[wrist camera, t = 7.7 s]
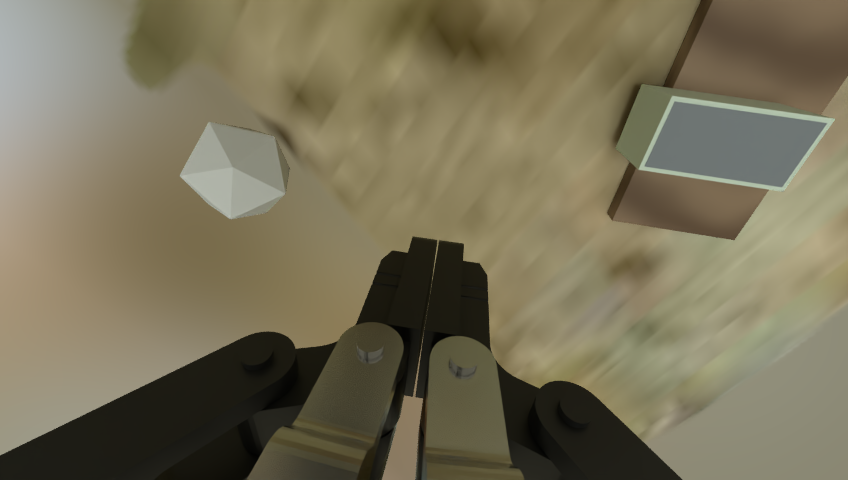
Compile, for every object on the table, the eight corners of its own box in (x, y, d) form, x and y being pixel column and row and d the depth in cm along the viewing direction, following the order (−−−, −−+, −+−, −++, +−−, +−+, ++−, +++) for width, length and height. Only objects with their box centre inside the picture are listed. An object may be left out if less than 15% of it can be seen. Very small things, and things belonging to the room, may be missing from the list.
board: (708, -16, 25) (720, -18, 23) (874, 5, 24) (896, 5, 23) (607, 213, 34) (612, 220, 33) (724, 231, 34) (734, 240, 33)
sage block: (672, 95, 23) (835, 118, 22) (641, 83, 27) (778, 103, 27) (638, 169, 25) (783, 192, 25) (615, 148, 30) (739, 166, 29)
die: (291, 107, 34) (171, 99, 27) (322, 192, 33) (207, 206, 26) (262, 148, 39) (156, 150, 32) (287, 220, 39) (186, 239, 32)
